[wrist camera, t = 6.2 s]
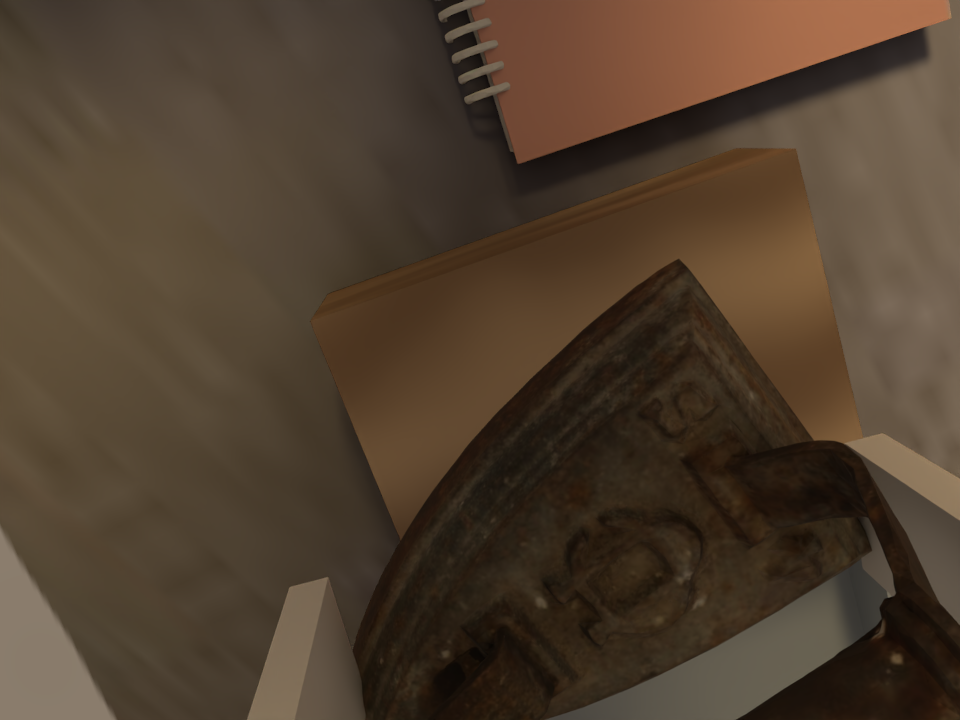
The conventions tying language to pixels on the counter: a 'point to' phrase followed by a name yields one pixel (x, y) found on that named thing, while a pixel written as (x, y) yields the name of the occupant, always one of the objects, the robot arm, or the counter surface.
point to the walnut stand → (581, 311)
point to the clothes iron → (643, 539)
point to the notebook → (652, 55)
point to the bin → (754, 658)
